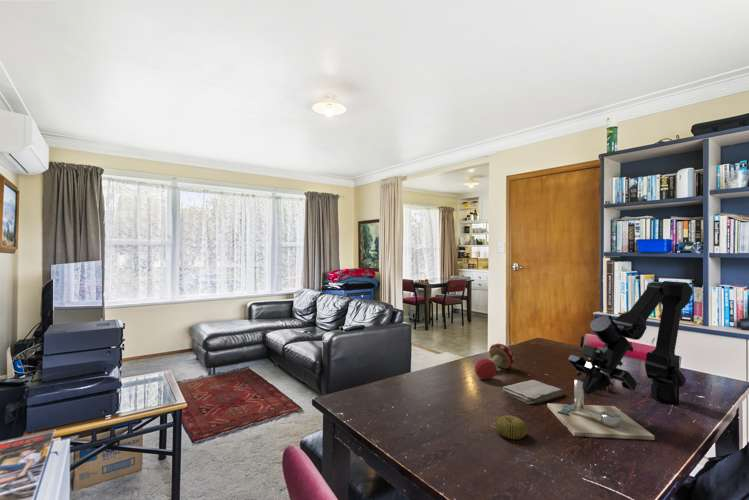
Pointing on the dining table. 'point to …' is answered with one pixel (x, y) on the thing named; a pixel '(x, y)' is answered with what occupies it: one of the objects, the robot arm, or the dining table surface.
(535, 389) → the washcloth
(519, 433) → the green sea urchin shell
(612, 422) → the crank handle
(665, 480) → the dining table surface
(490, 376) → the tomato
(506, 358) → the decorative mushroom
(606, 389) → the pottery mug
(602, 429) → the napkin
